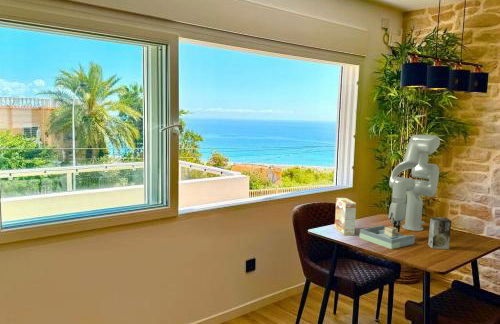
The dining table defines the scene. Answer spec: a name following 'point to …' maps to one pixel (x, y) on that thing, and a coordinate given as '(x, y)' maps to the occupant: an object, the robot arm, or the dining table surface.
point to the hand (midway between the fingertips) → (396, 231)
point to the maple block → (391, 231)
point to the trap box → (385, 237)
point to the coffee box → (439, 233)
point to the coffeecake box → (345, 216)
